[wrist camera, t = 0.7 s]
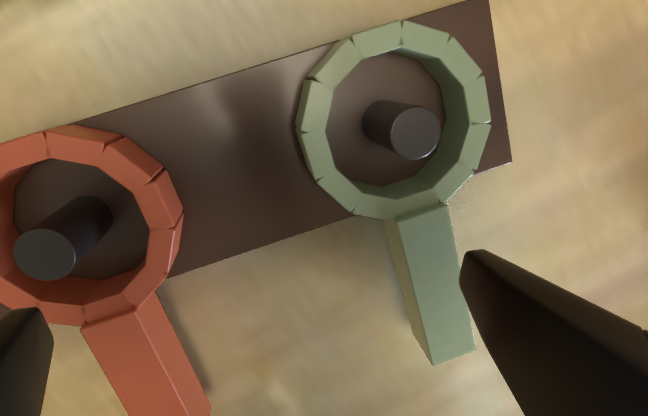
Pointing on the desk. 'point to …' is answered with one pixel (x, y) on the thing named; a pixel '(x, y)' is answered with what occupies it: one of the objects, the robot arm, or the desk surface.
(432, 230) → the sage loop
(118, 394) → the rust loop
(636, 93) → the desk surface
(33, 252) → the rack
